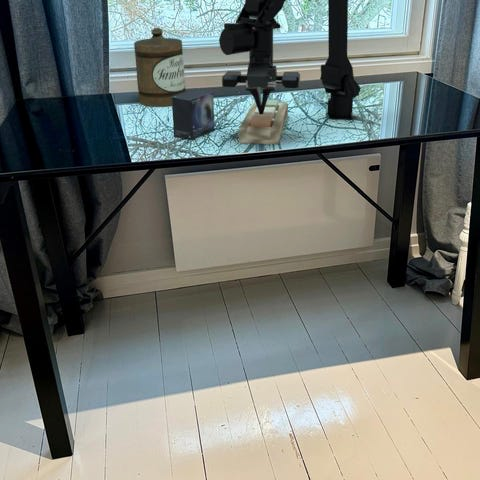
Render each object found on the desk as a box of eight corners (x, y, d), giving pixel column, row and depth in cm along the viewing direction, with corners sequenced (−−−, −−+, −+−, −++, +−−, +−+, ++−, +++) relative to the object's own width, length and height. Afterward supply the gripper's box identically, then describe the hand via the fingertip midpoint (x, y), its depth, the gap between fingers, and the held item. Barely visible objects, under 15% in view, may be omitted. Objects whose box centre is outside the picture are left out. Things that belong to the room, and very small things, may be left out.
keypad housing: (287, 115, 161) (288, 102, 160) (278, 144, 139) (278, 130, 137) (253, 114, 163) (253, 102, 161) (238, 142, 140) (238, 129, 139)
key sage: (278, 109, 158) (278, 100, 157) (276, 113, 154) (276, 104, 152) (260, 108, 159) (260, 99, 158) (258, 113, 154) (258, 104, 153)
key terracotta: (272, 124, 145) (272, 115, 144) (270, 130, 141) (270, 120, 139) (253, 124, 146) (253, 114, 144) (250, 129, 141) (250, 120, 140)
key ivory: (275, 116, 151) (275, 107, 150) (273, 121, 147) (273, 112, 146) (257, 116, 152) (256, 106, 151) (254, 121, 148) (254, 111, 147)
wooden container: (166, 109, 170) (160, 32, 159) (129, 103, 177) (121, 30, 166) (195, 98, 181) (191, 26, 170) (159, 93, 188) (153, 23, 177)
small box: (192, 140, 143) (190, 99, 138) (172, 136, 146) (169, 96, 141) (216, 129, 151) (214, 90, 146) (196, 126, 154) (194, 87, 149)
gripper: (216, 55, 129) (219, 122, 136) (297, 56, 126) (296, 124, 133) (225, 47, 138) (227, 109, 146) (301, 47, 135) (299, 111, 143)
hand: (261, 114), depth 142 cm, fingers closed
